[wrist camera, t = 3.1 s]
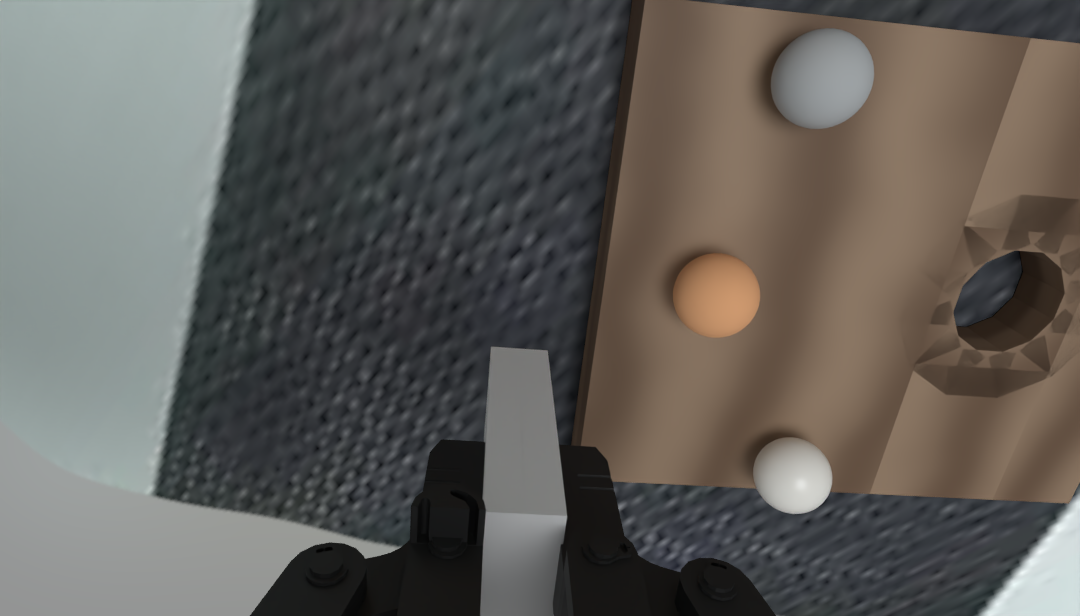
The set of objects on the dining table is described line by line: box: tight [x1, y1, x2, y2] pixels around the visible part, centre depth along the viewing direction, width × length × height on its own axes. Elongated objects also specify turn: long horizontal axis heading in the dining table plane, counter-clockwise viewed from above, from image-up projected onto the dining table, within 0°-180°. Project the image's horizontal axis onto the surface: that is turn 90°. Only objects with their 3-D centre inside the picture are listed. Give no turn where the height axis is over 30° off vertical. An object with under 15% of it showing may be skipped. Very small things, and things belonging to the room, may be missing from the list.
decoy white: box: [753, 437, 832, 514], centre depth 30 cm, size 3×3×3 cm
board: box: [571, 0, 1080, 503], centre depth 29 cm, size 24×20×2 cm
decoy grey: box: [771, 28, 874, 129], centre depth 23 cm, size 3×3×3 cm
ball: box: [673, 253, 760, 338], centre depth 26 cm, size 3×3×3 cm
